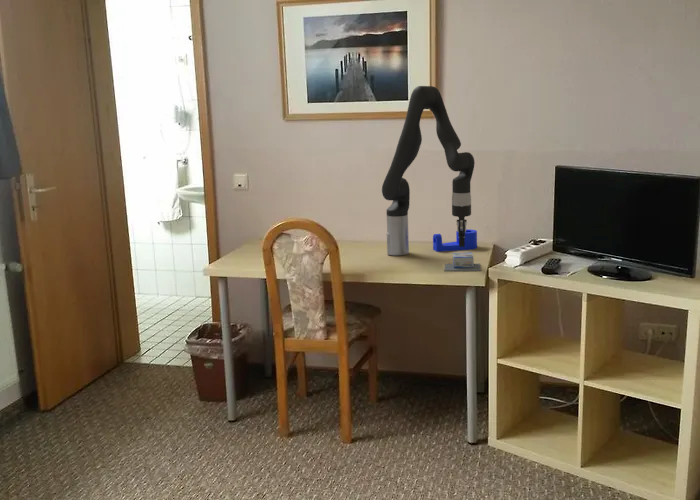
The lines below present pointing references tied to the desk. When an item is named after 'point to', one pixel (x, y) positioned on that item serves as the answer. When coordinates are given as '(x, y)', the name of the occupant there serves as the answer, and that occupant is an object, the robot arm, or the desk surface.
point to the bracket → (453, 246)
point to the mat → (451, 268)
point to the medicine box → (463, 260)
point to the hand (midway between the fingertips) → (461, 246)
